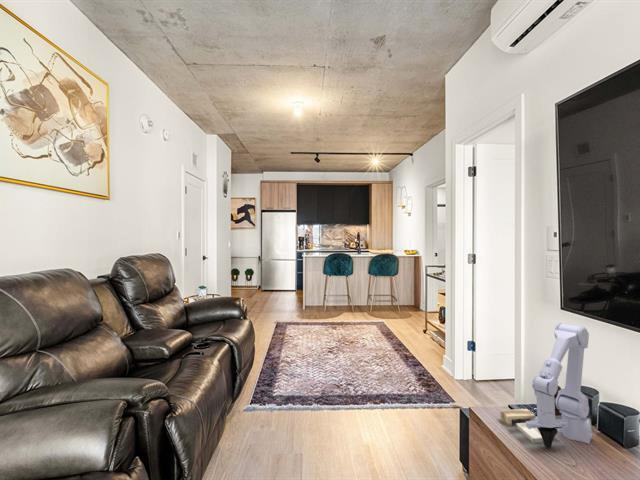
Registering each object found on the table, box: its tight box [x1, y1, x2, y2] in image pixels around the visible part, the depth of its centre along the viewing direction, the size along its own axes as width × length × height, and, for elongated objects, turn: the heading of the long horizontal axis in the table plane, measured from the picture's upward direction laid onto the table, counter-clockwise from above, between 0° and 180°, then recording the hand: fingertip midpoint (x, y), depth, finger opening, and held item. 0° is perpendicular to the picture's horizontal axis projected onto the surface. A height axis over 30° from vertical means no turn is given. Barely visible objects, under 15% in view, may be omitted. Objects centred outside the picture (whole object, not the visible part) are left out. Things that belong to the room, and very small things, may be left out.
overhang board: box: [496, 408, 566, 449], centre depth 150 cm, size 23×15×5 cm, turn 1°
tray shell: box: [516, 423, 544, 444], centre depth 147 cm, size 12×6×2 cm, turn 1°
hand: (547, 446), depth 137 cm, fingers closed
